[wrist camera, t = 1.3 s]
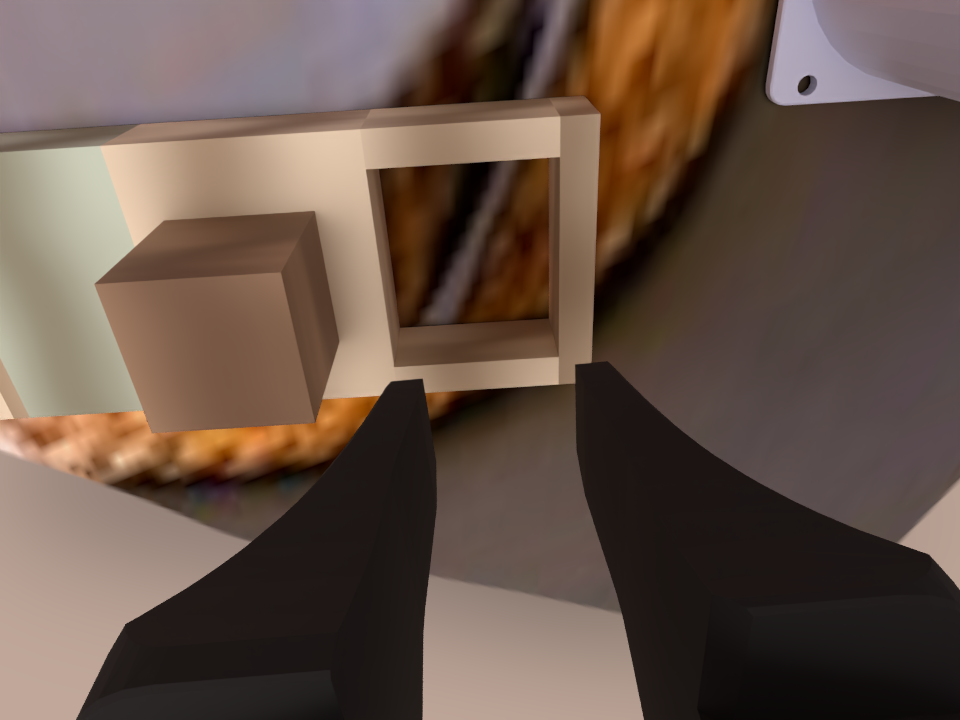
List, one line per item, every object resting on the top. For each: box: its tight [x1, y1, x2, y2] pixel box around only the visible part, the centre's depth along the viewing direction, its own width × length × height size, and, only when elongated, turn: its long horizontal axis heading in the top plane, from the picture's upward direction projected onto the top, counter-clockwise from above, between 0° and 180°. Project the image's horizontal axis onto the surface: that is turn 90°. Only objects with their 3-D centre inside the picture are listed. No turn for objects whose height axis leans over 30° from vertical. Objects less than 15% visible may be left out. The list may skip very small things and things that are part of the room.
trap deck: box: [0, 96, 601, 420], centre depth 20 cm, size 24×8×2 cm, turn 93°
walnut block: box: [94, 211, 339, 433], centre depth 17 cm, size 4×4×4 cm
